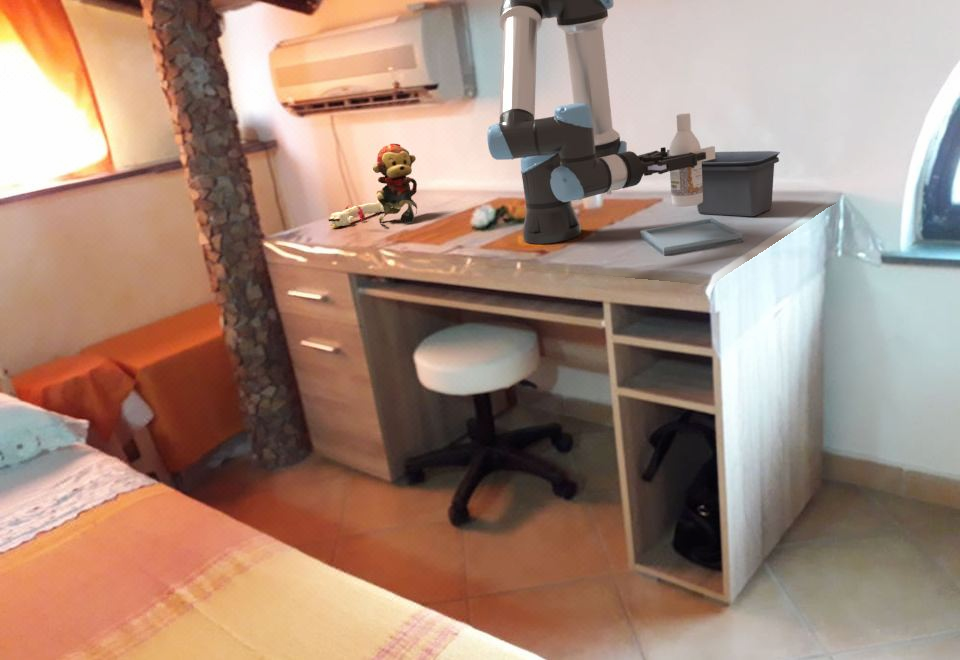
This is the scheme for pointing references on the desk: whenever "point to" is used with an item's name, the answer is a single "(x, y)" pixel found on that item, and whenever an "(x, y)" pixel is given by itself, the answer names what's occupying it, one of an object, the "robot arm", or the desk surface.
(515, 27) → the robot arm
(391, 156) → the stuffed monkey
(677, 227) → the tray
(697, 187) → the bath foam
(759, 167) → the storage bin
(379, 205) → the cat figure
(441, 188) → the desk surface
